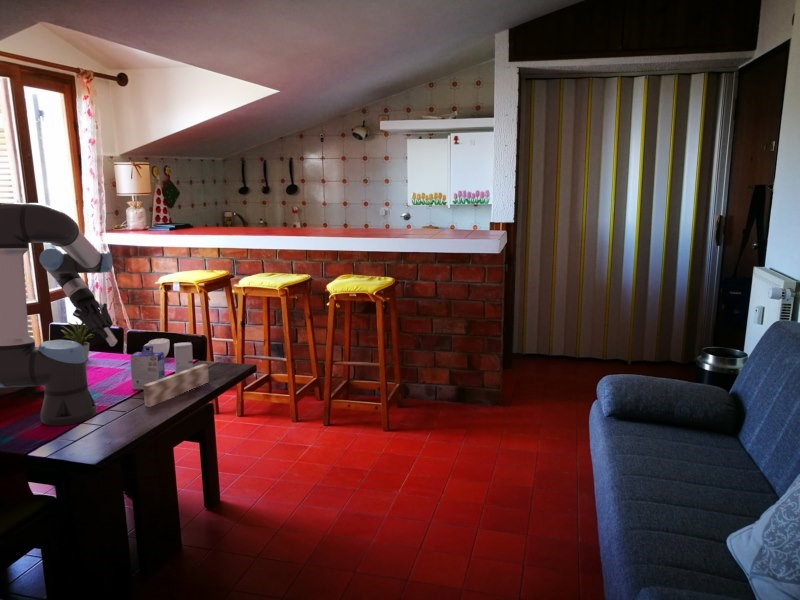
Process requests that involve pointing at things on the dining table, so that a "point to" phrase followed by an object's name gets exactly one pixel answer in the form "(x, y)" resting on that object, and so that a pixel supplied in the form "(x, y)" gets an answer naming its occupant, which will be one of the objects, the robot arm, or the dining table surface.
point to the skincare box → (183, 356)
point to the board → (175, 384)
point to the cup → (159, 345)
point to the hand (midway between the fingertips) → (114, 343)
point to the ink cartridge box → (146, 367)
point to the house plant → (79, 336)
